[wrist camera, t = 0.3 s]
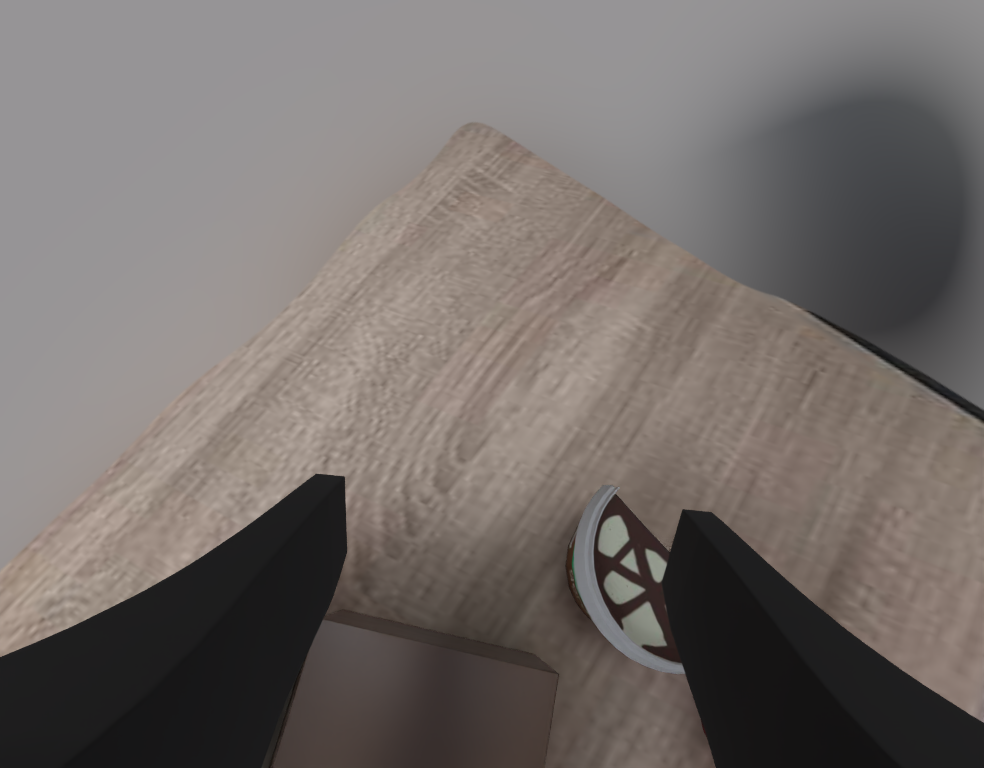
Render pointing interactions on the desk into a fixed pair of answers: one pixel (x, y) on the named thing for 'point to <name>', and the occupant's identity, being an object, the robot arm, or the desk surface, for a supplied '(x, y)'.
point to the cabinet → (415, 700)
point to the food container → (622, 581)
